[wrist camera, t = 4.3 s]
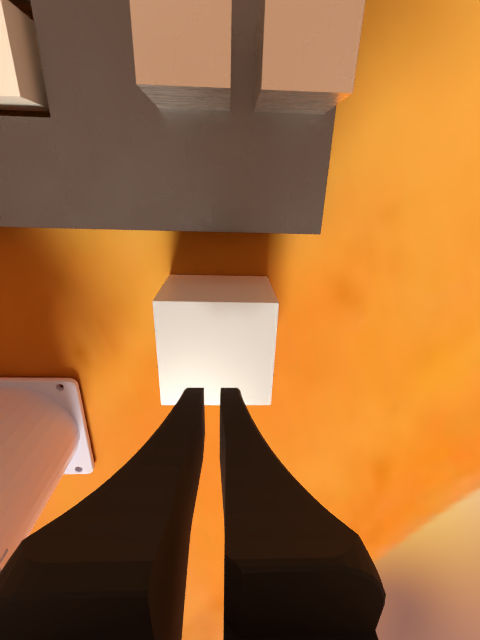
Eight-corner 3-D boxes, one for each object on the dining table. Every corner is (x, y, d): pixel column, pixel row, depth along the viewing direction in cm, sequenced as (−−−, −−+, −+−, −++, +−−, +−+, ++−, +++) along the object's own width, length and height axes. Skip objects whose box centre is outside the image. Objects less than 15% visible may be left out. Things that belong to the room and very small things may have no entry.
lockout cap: (174, 360, 20) (161, 404, 16) (169, 274, 18) (152, 301, 14) (262, 360, 21) (270, 405, 17) (267, 276, 19) (279, 303, 14)
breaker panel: (-70, 219, 17) (-199, 235, 12) (-195, -154, 12) (-520, -413, 7) (310, 228, 18) (344, 247, 12) (348, -117, 12) (431, -321, 7)
